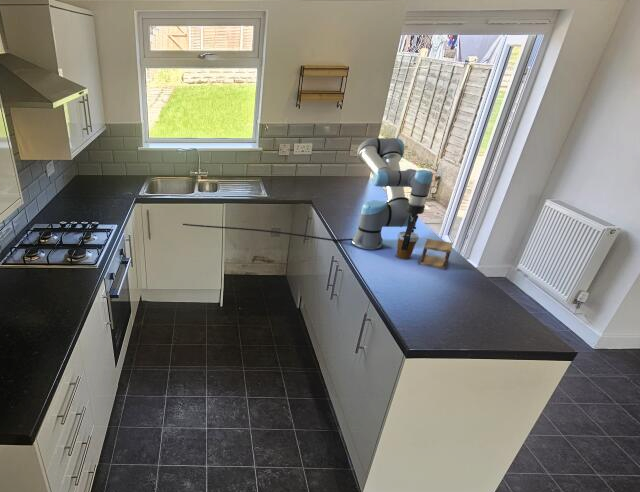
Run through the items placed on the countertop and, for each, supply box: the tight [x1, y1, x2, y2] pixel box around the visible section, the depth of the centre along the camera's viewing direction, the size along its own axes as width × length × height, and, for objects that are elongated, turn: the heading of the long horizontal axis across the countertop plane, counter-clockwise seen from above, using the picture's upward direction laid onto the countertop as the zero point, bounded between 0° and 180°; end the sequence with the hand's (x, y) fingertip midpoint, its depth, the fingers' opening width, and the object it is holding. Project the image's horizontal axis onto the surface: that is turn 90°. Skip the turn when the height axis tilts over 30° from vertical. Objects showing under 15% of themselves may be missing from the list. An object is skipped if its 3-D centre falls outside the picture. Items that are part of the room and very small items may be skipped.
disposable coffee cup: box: [396, 231, 419, 260], centre depth 218 cm, size 10×10×12 cm
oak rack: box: [419, 238, 454, 270], centre depth 213 cm, size 12×12×10 cm
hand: (406, 245), depth 218 cm, fingers open, 13 cm apart
